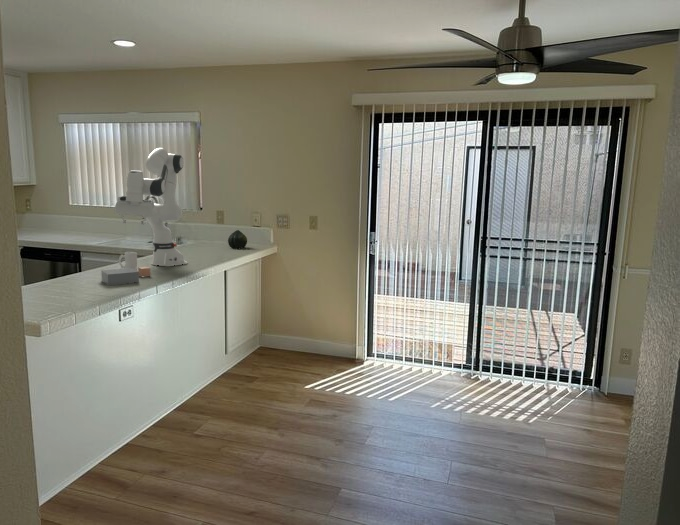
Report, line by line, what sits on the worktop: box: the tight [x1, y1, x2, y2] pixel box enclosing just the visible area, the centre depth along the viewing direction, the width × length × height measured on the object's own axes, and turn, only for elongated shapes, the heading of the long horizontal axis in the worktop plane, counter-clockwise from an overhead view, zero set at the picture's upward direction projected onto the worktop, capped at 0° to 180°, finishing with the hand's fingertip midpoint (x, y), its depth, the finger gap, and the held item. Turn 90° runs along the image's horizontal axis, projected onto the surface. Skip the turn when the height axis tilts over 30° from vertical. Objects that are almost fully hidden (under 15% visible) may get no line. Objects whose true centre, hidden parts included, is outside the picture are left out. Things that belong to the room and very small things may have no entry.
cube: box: [137, 266, 151, 278], centre depth 300 cm, size 5×5×5 cm
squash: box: [227, 229, 248, 249], centre depth 413 cm, size 14×15×15 cm
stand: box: [100, 268, 140, 286], centre depth 283 cm, size 16×12×6 cm
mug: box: [118, 251, 138, 271], centre depth 306 cm, size 10×7×12 cm, turn 107°
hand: (133, 223), depth 291 cm, fingers open, 8 cm apart
